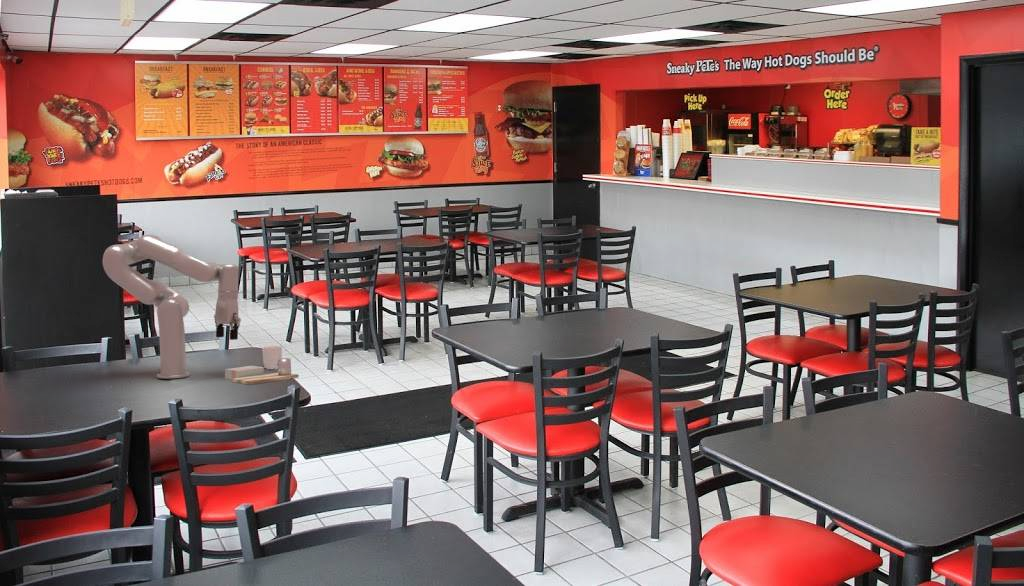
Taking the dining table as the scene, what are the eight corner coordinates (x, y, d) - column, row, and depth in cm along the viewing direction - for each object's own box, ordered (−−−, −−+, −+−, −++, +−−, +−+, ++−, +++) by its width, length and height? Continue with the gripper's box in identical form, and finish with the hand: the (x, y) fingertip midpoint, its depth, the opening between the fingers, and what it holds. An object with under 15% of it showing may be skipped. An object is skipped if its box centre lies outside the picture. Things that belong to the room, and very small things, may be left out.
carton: (225, 379, 381) (224, 369, 381) (251, 375, 390) (251, 365, 390) (237, 381, 375) (237, 370, 375) (264, 377, 384) (263, 367, 384)
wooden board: (232, 381, 373) (231, 378, 373) (280, 375, 389) (280, 372, 389) (250, 384, 365) (250, 381, 365) (298, 377, 381) (298, 374, 381)
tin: (275, 375, 380) (274, 360, 380) (283, 373, 385) (282, 358, 384) (285, 375, 378) (285, 360, 377) (294, 373, 382) (293, 358, 382)
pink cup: (264, 370, 404) (263, 346, 404) (283, 369, 405) (283, 345, 405) (261, 372, 397) (260, 348, 396) (281, 372, 397) (280, 347, 397)
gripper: (207, 293, 390) (206, 336, 391) (231, 297, 378) (230, 341, 379) (224, 293, 395) (222, 335, 396) (248, 296, 384) (247, 340, 385)
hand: (226, 338), depth 388 cm, fingers open, 9 cm apart
